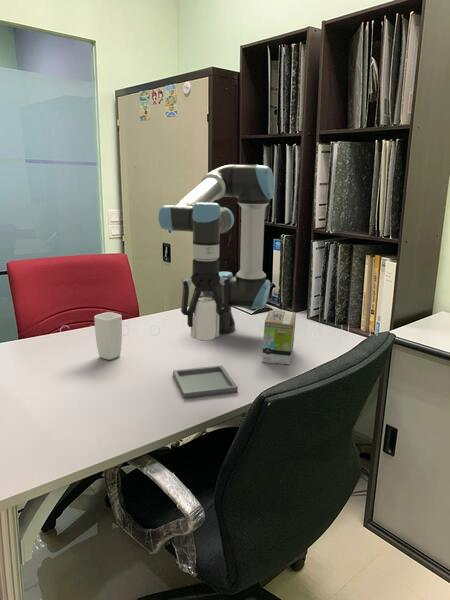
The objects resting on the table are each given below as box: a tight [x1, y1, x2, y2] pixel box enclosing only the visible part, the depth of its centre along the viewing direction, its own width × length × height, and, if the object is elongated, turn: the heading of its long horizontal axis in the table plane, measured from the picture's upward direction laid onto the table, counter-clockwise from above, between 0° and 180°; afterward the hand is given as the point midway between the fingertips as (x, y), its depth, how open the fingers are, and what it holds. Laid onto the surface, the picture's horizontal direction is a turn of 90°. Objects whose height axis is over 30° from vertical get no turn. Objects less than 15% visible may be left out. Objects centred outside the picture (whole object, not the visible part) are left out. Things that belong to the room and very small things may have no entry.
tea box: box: [261, 309, 297, 365], centre depth 162 cm, size 15×10×15 cm, turn 168°
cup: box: [93, 311, 123, 361], centre depth 157 cm, size 7×7×15 cm
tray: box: [172, 365, 239, 400], centre depth 141 cm, size 16×16×2 cm
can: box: [194, 295, 216, 342], centre depth 135 cm, size 6×6×12 cm
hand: (204, 335), depth 137 cm, fingers closed on can, 6 cm apart
